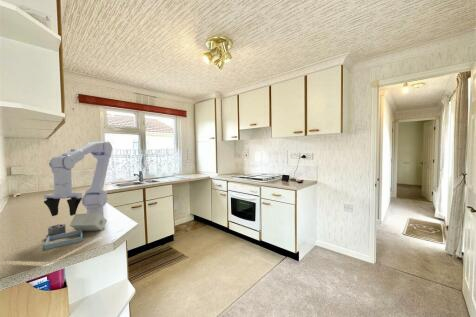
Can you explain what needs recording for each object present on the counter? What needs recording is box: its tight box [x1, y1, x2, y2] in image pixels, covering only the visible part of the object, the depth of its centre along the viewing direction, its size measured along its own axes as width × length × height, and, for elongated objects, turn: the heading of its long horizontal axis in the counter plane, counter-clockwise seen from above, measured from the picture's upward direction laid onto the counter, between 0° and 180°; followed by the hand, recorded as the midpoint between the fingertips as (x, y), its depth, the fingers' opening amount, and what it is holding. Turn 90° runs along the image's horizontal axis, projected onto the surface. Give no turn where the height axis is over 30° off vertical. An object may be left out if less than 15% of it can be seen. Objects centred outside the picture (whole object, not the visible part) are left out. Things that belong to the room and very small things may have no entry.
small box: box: [69, 212, 108, 232], centre depth 90 cm, size 8×6×10 cm
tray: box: [43, 230, 84, 250], centre depth 79 cm, size 11×11×2 cm
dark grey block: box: [45, 223, 67, 239], centre depth 84 cm, size 5×7×4 cm
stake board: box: [44, 222, 77, 241], centre depth 87 cm, size 9×10×6 cm
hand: (63, 215), depth 84 cm, fingers open, 7 cm apart
